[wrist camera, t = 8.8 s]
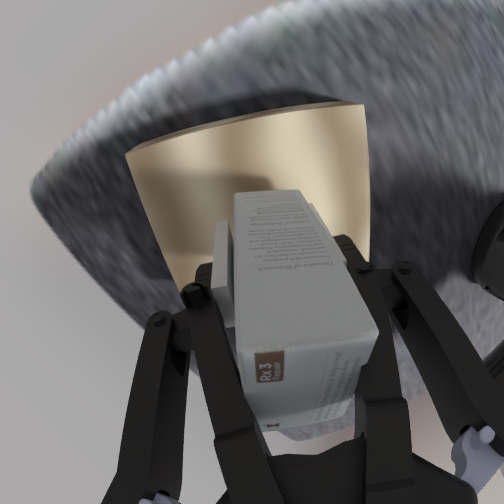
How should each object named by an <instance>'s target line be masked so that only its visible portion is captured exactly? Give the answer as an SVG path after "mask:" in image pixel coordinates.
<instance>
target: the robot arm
mask: <svg viewBox="0 0 504 504" xmlns="http://www.w3.org/2000/svg"><path fill="white" fill-rule="evenodd" d="M308 204H309V206H310V207H311V209H312V210H313V212H314V214H315V215H316V217H317V219H318V220H319V222H320V224H321V225H322V227H323V228H324V230H325V231H326V234H327V235H328V237H329V239H330V240H331V242H332V244H333V245H334V247H335V249H336V250H337V252H338V254H339V256H340V258H341V259H342V261H343V263H344V265H345V267H346V268H347V270H348V272H349V274H350V276H351V278H352V279H353V281H354V283H355V285H356V287H357V289H358V291H359V293H360V295H361V297H362V299H363V301H364V302H365V304H366V306H367V308H368V310H369V312H370V314H371V316H372V318H373V320H374V322H375V324H376V326H377V328H378V330H379V335H378V337H377V340H376V342H375V345H374V347H373V350H372V352H371V355H370V357H369V360H368V362H367V363H366V364H365V365H363V366H361V370H360V375H359V380H358V384H357V388H356V390H355V433H354V439H353V440H349V441H345V442H343V443H341V444H339V445H337V446H335V447H333V448H331V449H329V450H327V451H325V452H323V453H320V454H318V455H300V454H299V455H298V454H283V455H278V456H272V455H271V453H270V451H269V449H268V446H267V444H266V442H265V439H264V437H263V434H262V431H261V429H260V426H259V424H258V421H257V419H256V418H255V416H254V414H253V412H252V410H251V408H250V406H249V404H248V402H247V400H246V398H245V396H244V394H243V389H242V383H241V377H240V373H239V370H238V367H237V364H236V361H235V358H234V356H233V353H232V350H231V347H230V344H229V341H228V338H227V335H226V332H225V330H224V324H225V326H226V328H230V327H235V305H234V240H233V237H232V233H231V229H230V226H229V222H228V220H224V221H220V222H216V231H215V242H214V253H213V262H209V263H204V264H200V265H199V267H198V268H197V270H196V274H195V282H192V283H189V284H187V285H186V286H185V287H183V289H182V290H181V292H180V296H181V298H182V300H183V303H184V305H185V307H186V308H185V309H184V310H182V311H181V312H178V313H176V314H174V315H171V314H170V312H168V311H159V312H156V313H154V314H153V315H152V316H151V317H150V318H149V319H148V321H147V325H146V329H145V332H144V336H143V341H142V344H141V348H140V352H139V356H138V360H137V364H136V369H135V373H134V378H133V383H132V387H131V392H130V397H129V401H128V406H127V412H126V417H125V422H124V428H123V434H122V441H121V446H120V453H119V460H118V467H117V473H116V475H115V477H114V479H113V481H112V483H111V485H110V487H109V489H108V491H107V493H106V495H105V497H104V499H103V501H102V503H101V504H181V503H180V502H178V500H179V496H180V491H181V485H182V467H183V445H184V427H185V412H186V398H187V386H188V374H189V364H190V354H191V350H193V349H194V351H195V356H196V361H197V365H198V370H199V374H200V378H201V382H202V387H203V391H204V395H205V399H206V403H207V407H208V411H209V414H210V418H211V422H212V426H213V430H214V433H215V439H214V447H215V451H216V454H217V458H218V461H219V464H220V467H221V471H222V474H223V477H224V481H225V483H226V486H227V490H226V492H225V493H224V494H223V495H222V497H221V498H220V499H219V500H218V502H217V503H216V504H478V499H477V494H478V493H479V491H480V490H481V489H482V488H483V487H484V486H485V485H486V484H487V482H488V481H489V480H490V479H491V477H492V476H493V475H494V474H495V473H496V471H497V470H498V469H499V468H500V469H501V472H502V474H503V477H504V340H503V341H502V342H501V343H500V344H499V345H498V346H497V347H496V348H495V349H494V350H493V351H492V352H491V353H490V354H489V355H488V356H487V357H486V358H485V359H484V360H483V361H482V359H481V358H480V356H479V354H478V353H477V351H476V350H475V348H474V346H473V345H472V343H471V342H470V340H469V338H468V337H467V335H466V334H465V332H464V331H463V329H462V328H461V326H460V325H459V323H458V322H457V320H456V319H455V317H454V316H453V315H452V313H451V312H450V310H449V309H448V307H447V306H446V305H445V303H444V302H443V301H442V299H441V298H440V296H439V295H438V294H437V292H436V291H435V290H434V288H433V287H432V286H431V285H430V283H429V282H428V281H427V279H426V278H425V277H424V275H423V274H422V273H421V272H420V270H419V269H418V268H417V267H416V266H415V265H414V264H413V263H411V262H409V261H398V262H395V263H394V264H393V266H392V269H377V268H376V267H375V265H374V264H372V263H370V262H367V261H366V260H365V259H364V257H363V256H362V254H361V253H360V251H359V250H358V248H357V247H356V245H355V244H354V242H353V241H352V239H351V238H350V237H348V236H346V235H345V234H342V235H337V236H332V235H331V233H330V231H329V230H328V228H327V226H326V225H325V223H324V222H323V220H322V218H321V217H320V215H319V213H318V212H317V210H316V209H315V207H314V206H313V204H312V203H308ZM472 273H473V277H474V279H475V280H476V282H477V283H478V284H479V285H480V286H481V287H482V289H483V290H485V291H486V292H488V293H490V294H492V295H493V296H495V297H497V298H499V299H501V300H502V301H504V201H503V202H502V203H501V204H500V205H499V207H498V208H497V209H496V210H495V211H494V213H493V214H492V216H491V217H490V219H489V220H488V222H487V224H486V225H485V227H484V229H483V231H482V233H481V236H480V238H479V240H478V243H477V246H476V249H475V252H474V256H473V262H472ZM387 311H388V313H389V314H390V316H391V318H392V320H393V322H394V324H395V325H396V327H397V329H398V331H399V333H400V335H401V337H402V339H403V341H404V342H405V344H406V346H407V348H408V350H409V352H410V354H411V356H412V358H413V360H414V362H415V364H416V366H417V368H418V370H419V372H420V375H421V377H422V379H423V381H424V383H425V385H426V387H427V390H428V392H429V394H430V396H431V398H432V401H433V403H434V405H435V408H436V410H437V412H438V415H439V417H440V419H441V422H442V424H443V426H444V429H445V431H446V433H447V434H448V436H449V438H450V439H451V441H452V442H453V444H454V445H453V447H452V452H451V459H452V461H453V462H454V463H455V468H456V471H455V475H452V474H450V473H448V472H447V471H444V470H443V469H441V468H439V467H437V466H435V465H434V464H432V463H430V462H428V461H426V460H425V459H423V458H421V457H419V456H418V455H416V454H414V453H412V445H411V431H410V420H409V410H408V404H407V401H406V399H404V398H403V397H402V393H401V385H400V378H399V371H398V365H397V359H396V353H395V347H394V342H393V337H392V332H391V327H390V322H389V317H388V313H387Z"/></svg>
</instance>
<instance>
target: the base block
mask: <svg viewBox="0 0 504 504" xmlns="http://www.w3.org/2000/svg"><path fill="white" fill-rule="evenodd" d="M125 157H126V160H127V163H128V166H129V168H130V171H131V174H132V177H133V180H134V183H135V185H136V188H137V191H138V194H139V196H140V199H141V202H142V204H143V207H144V209H145V212H146V215H147V217H148V220H149V222H150V225H151V227H152V230H153V232H154V235H155V237H156V240H157V242H158V244H159V247H160V249H161V251H162V254H163V256H164V258H165V261H166V263H167V265H168V268H169V270H170V272H171V274H172V277H173V279H174V281H175V283H176V285H177V288H178V290H179V292H181V290H182V289H183V287H185V286H186V285H187V284H189V283H192V282H195V274H196V270H197V268H198V267H199V265H200V264H204V263H209V262H213V253H214V242H215V231H216V222H220V221H224V220H228V222H229V226H230V229H231V233H232V237H233V240H234V194H235V193H241V192H253V191H269V190H292V189H296V190H297V189H299V190H300V191H301V193H302V195H303V196H304V198H305V199H306V201H307V202H308V203H312V204H313V206H314V207H315V209H316V210H317V212H318V213H319V215H320V217H321V218H322V220H323V222H324V223H325V225H326V226H327V228H328V230H329V231H330V233H331V235H332V236H337V235H342V234H345V235H346V236H348V237H350V238H351V239H352V241H353V242H354V244H355V245H356V247H357V248H358V250H359V251H360V253H361V254H362V256H363V257H364V259H365V260H366V261H367V262H369V246H370V178H369V157H368V143H367V131H366V120H365V111H364V104H359V103H353V102H348V101H332V102H322V103H313V104H305V105H297V106H290V107H284V108H277V109H271V110H266V111H260V112H255V113H250V114H245V115H240V116H235V117H231V118H226V119H222V120H218V121H214V122H210V123H206V124H202V125H198V126H194V127H191V128H187V129H184V130H180V131H177V132H173V133H170V134H167V135H163V136H160V137H157V138H154V139H151V140H148V141H145V142H142V143H141V144H139V145H138V146H136V147H135V148H133V149H132V150H130V151H129V152H127V153H126V154H125Z"/></svg>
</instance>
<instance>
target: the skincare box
mask: <svg viewBox="0 0 504 504" xmlns="http://www.w3.org/2000/svg"><path fill="white" fill-rule="evenodd" d="M234 305H235V336H236V351H237V357H238V364H239V371H240V377H241V383H242V389H243V394H244V396H245V398H246V400H247V402H248V404H249V406H250V408H251V410H252V412H253V414H254V416H255V418H256V419H257V421H258V424H259V426H260V429H261V431H262V432H266V431H275V430H282V429H288V428H294V427H300V426H306V425H312V424H316V423H321V422H325V421H329V420H332V419H336V418H339V417H342V416H343V415H344V413H345V411H346V409H347V407H348V405H349V403H350V400H351V398H352V396H353V394H354V392H355V390H356V388H357V384H358V380H359V375H360V370H361V366H363V365H365V364H366V363H367V362H368V360H369V357H370V355H371V352H372V350H373V347H374V345H375V342H376V340H377V337H378V335H379V330H378V328H377V326H376V324H375V322H374V320H373V318H372V316H371V314H370V312H369V310H368V308H367V306H366V304H365V302H364V301H363V299H362V297H361V295H360V293H359V291H358V289H357V287H356V285H355V283H354V281H353V279H352V278H351V276H350V274H349V272H348V270H347V268H346V267H345V265H344V263H343V261H342V259H341V258H340V256H339V254H338V252H337V250H336V249H335V247H334V245H333V244H332V242H331V240H330V239H329V237H328V235H327V234H326V231H325V230H324V228H323V227H322V225H321V224H320V222H319V220H318V219H317V217H316V215H315V214H314V212H313V210H312V209H311V207H310V206H309V204H308V202H307V201H306V199H305V198H304V196H303V195H302V193H301V191H300V190H299V189H297V190H296V189H292V190H269V191H253V192H241V193H235V194H234Z"/></svg>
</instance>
